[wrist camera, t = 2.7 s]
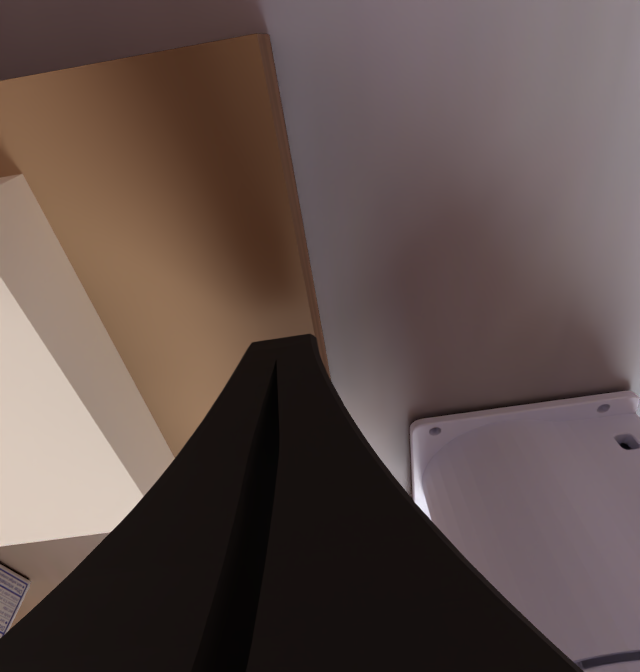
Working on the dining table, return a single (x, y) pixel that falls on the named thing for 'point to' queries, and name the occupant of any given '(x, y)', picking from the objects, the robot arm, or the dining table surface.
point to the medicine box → (10, 596)
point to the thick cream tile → (62, 394)
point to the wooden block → (171, 210)
